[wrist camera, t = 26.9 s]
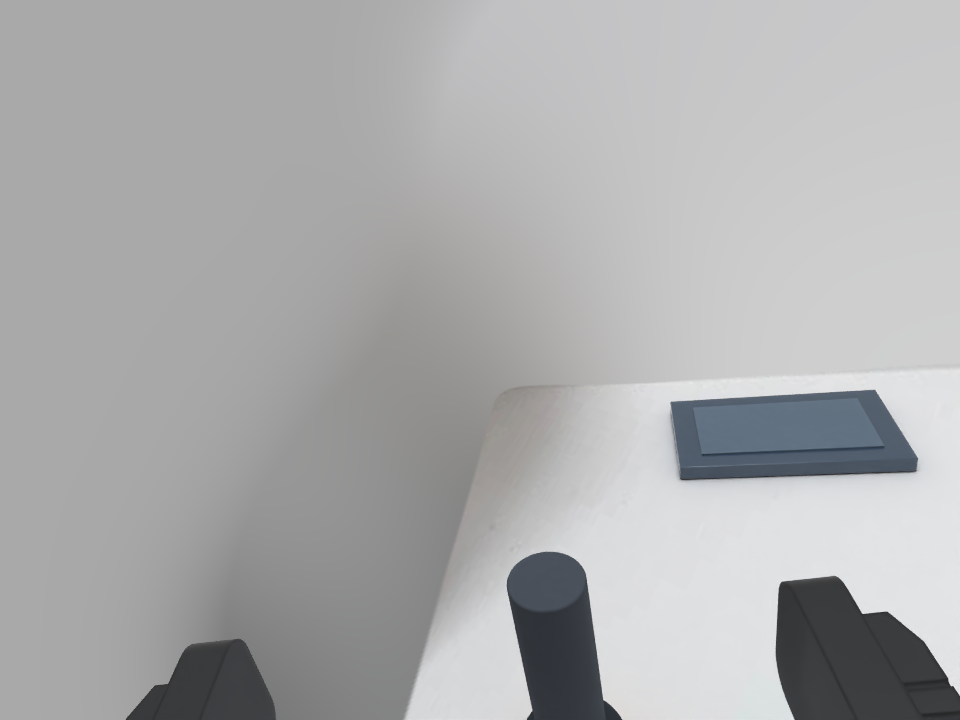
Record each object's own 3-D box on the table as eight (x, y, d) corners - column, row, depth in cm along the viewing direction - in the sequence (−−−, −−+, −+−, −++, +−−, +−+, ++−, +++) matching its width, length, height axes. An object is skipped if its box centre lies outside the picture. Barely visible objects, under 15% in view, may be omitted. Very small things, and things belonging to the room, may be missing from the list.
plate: (680, 479, 46) (679, 465, 46) (670, 412, 53) (670, 399, 52) (916, 471, 43) (918, 456, 42) (873, 401, 50) (875, 387, 49)
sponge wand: (510, 796, 30) (458, 597, 24) (566, 717, 33) (531, 521, 27) (599, 861, 27) (563, 652, 22) (652, 768, 30) (633, 562, 25)
